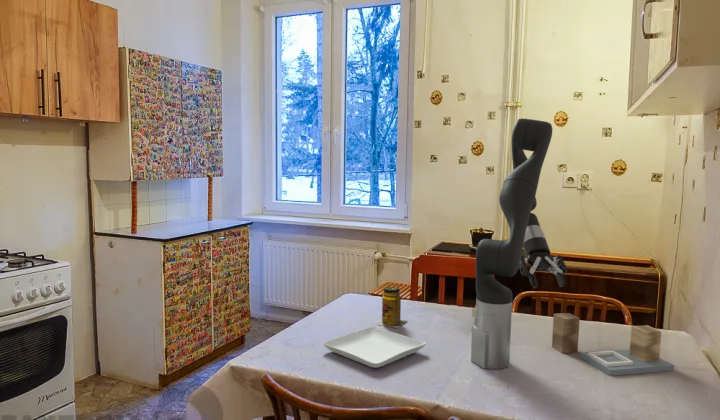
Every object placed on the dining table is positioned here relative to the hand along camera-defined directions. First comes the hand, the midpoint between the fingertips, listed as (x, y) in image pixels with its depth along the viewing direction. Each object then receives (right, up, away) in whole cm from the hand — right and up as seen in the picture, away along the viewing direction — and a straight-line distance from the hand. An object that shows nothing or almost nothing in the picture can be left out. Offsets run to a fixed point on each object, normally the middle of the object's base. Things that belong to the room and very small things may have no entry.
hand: (549, 286), depth 157 cm
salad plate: (-54, -17, -14) cm, 59 cm away
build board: (+14, -18, -19) cm, 30 cm away
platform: (-20, -15, +10) cm, 27 cm away
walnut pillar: (+1, -17, -9) cm, 19 cm away
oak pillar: (+19, -16, -18) cm, 31 cm away
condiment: (-47, -14, +12) cm, 51 cm away
